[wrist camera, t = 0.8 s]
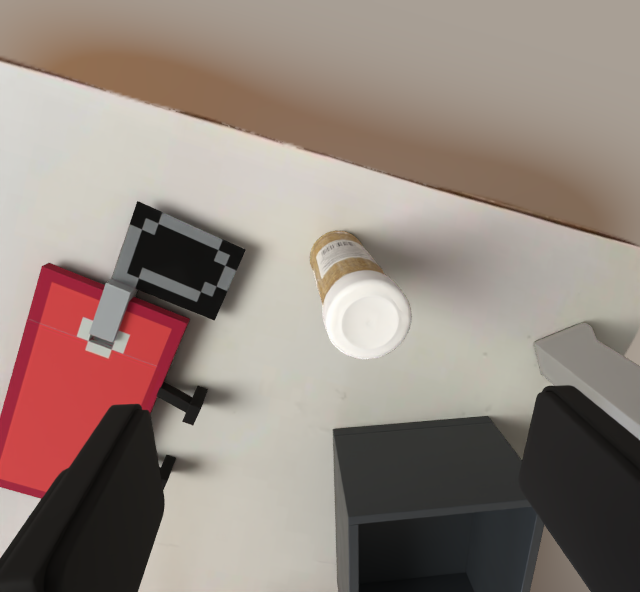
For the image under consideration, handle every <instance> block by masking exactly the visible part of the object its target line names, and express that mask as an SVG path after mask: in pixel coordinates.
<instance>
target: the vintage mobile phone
mask: <svg viewBox="0 0 640 592" xmlns="http://www.w3.org/2000/svg"><path fill="white" fill-rule="evenodd" d="M534 347H535V351H536V355H537V359H538V363H539V367H540V372H541V374H542V375H543V376H544V377H545V378H546V379H547V380H549V381H550V382H551V383H552V384H553V385H554V386H561V385H571V386H574V387H575V388H577V389H578V390H579V391H581V392H582V393H583V394H584V395H585V396H587V397H588V398H589V399H590V400H592V401H593V402H594V403H595V404H596V405H598V406H599V407H600V408H601V409H603V410H604V411H605V412H606V413H607V414H609V415H610V416H611V417H612V418H613V419H615V420H616V421H617V422H618V423H620V424H621V425H622V426H623V427H624V428H626V429H627V430H628V431H629V432H631V433H632V434H633V435H634V436H635V437H637V438H638V439H639V440H640V366H639V365H637V364H635V363H634V362H632V361H630V360H629V359H627V358H626V357H624V356H622V355H621V354H619V353H618V352H616V351H614V350H613V349H611V348H609V347H608V346H606V345H605V344H603V343H601V342H600V341H598V340H597V338H596V335H595V333H594V330H593V328H592V326H590V325H589V324H587V323H585V322H583V323H580V324H577V325H575V326H572V327H570V328H567V329H565V330H562V331H560V332H558V333H555V334H553V335H550V336H548V337H545V338H543V339H540V340H538V341H535V342H534Z"/></svg>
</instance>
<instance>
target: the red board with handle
mask: <svg viewBox="0 0 640 592" xmlns="http://www.w3.org/2000/svg"><path fill="white" fill-rule="evenodd" d="M244 252H245V249H243V248H241V247H239V246H236V245H234V244H232V243H230V242H228V241H225V240H223V239H221V238H219V237H216V236H214V235H212V234H210V233H207V232H205V231H203V230H201V229H199V228H196V227H194V226H192V225H190V224H187V223H185V222H183V221H181V220H178V219H176V218H174V217H172V216H170V215H167V214H165V213H163V212H161V211H158V210H156V209H154V208H152V207H150V206H147V205H145V204H143V203H141V202H138V201H137V204H136V207H135V210H134V213H133V216H132V219H131V222H130V225H129V228H128V231H127V234H126V237H125V240H124V243H123V245H122V248H121V251H120V254H119V257H118V260H117V263H116V266H115V269H114V272H113V275H112V278H111V279H110V280H109V281H108V282H106V284H105V285H104V284H101V283H99V282H96V281H94V280H91V279H89V278H86V277H83V276H81V275H78V274H76V273H73V272H71V271H68V270H66V269H63V268H61V267H58V266H56V265H53V264H51V263H48V264H46V265H44V266H42V268H41V272H40V275H39V279H38V283H37V286H36V290H35V293H34V297H33V301H32V304H31V308H30V311H29V315H28V319H27V322H26V326H25V330H24V333H23V337H22V340H21V344H20V348H19V351H18V355H17V358H16V362H15V366H14V369H13V373H12V377H11V380H10V384H9V387H8V391H7V395H6V398H5V402H4V405H3V409H2V413H1V416H0V487H2V488H6V489H9V490H13V491H16V492H20V493H24V494H27V495H31V496H34V497H38V498H41V499H42V498H43V496H44V495H45V493H46V492H47V490H48V489H49V487H50V486H51V485H52V483H53V482H54V480H55V479H56V477H57V476H58V475H59V474H60V473H61V472H62V471H63V470H65V469H67V468H69V467H70V465H71V464H72V462H73V461H74V459H75V458H76V456H77V455H78V453H79V452H80V450H81V449H82V448H83V446H84V445H85V443H86V442H87V440H88V439H89V437H90V436H91V434H92V433H93V431H94V430H95V428H96V427H97V425H98V424H99V422H100V421H101V419H102V418H103V416H104V415H105V413H106V412H107V410H108V409H109V408H110V407H111V406H112V405H118V404H140V405H141V407H142V410H149V412H150V414H151V411H152V409H153V406H154V404H155V402H156V399H157V397H159V398H161V399H163V400H164V401H166V402H168V403H170V404H172V405H173V406H175V407H177V408H179V409H181V410H182V411H184V412H186V414H185V417H184V419H183V422H185V423H188V424H191V425H194V422H195V420H196V418H197V416H198V414H199V412H200V409H201V407H202V404H203V401H204V398H205V396H206V393H207V390H208V389H206V388H203V387H200V386H197V388H196V391H195V393H194V395H193V397H191V396H189V395H187V394H186V393H184V392H182V391H180V390H178V389H177V388H175V387H173V386H171V385H169V384H168V383H166V382H164V380H165V378H166V375H167V373H168V370H169V368H170V366H171V363H172V361H173V358H174V356H175V354H176V351H177V349H178V346H179V344H180V342H181V339H182V337H183V334H184V332H185V330H186V327H187V325H188V322H189V320H190V319H189V318H186V317H184V316H181V315H179V314H176V313H174V312H171V311H169V310H166V309H164V308H161V307H159V306H156V305H154V304H151V303H149V302H146V301H144V300H141V299H139V298H136V297H135V296H136V293H137V290H140V291H143V292H145V293H148V294H150V295H153V296H155V297H158V298H160V299H163V300H165V301H167V302H170V303H172V304H175V305H177V306H180V307H182V308H185V309H187V310H190V311H192V312H195V313H197V314H200V315H202V316H205V317H207V318H210V319H212V320H215V318H216V316H217V314H218V312H219V309H220V307H221V305H222V303H223V300H224V298H225V296H226V293H227V291H228V289H229V287H230V284H231V282H232V280H233V277H234V275H235V273H236V271H237V268H238V266H239V264H240V262H241V259H242V257H243V255H244ZM114 341H115V342H114ZM113 342H114V343H113ZM175 460H176V458H175V457H172V456H169V455H166V457H165V460H164V462H163V464H162V466H161V468H160V467H159V469H160V475H161V481H162V487H163V489H164V487H165V485H166V483H167V481H168V478H169V475H170V473H171V470H172V468H173V465H174V462H175Z"/></svg>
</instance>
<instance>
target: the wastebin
mask: <svg viewBox="0 0 640 592" xmlns="http://www.w3.org/2000/svg"><path fill="white" fill-rule="evenodd" d="M333 451H334V486H335V521H336V555H337V584H338V592H530V588H531V583H532V579H533V574H534V569H535V565H536V560H537V555H538V551H539V546H540V542H541V537H542V532H543V527H544V523H543V522H542V520H541V519H540V517H539V516H538V515H537V513H536V512H535V510H534V509H533V507H532V506H531V504H530V503H529V502H528V500H527V499H526V497H525V496H524V494H523V493H522V491H521V488H520V485H519V473H520V469H521V464H522V460H521V459H520V457H519V456H518V455H517V453H516V452H515V451H514V449H513V448H512V447H511V446H510V444H509V443H508V442H507V440H506V439H505V438H504V436H503V435H502V434H501V432H500V431H499V430H498V428H497V427H496V426H495V424H494V423H493V422H492V421H491V419H490V418H489V417H488V416H484V417H472V418H460V419H449V420H437V421H425V422H413V423H401V424H389V425H377V426H365V427H353V428H341V429H333Z"/></svg>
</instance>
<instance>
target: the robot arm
mask: <svg viewBox="0 0 640 592" xmlns="http://www.w3.org/2000/svg"><path fill="white" fill-rule="evenodd" d="M519 485H520V488H521V491H522V493H523V494H524V496H525V497H526V499H527V500H528V502H529V503H530V504H531V506H532V507H533V509H534V510H535V512H536V513H537V515H538V516H539V517H540V519H541V520H542V522H543V523H544V525H545V526H546V528H547V529H548V531H549V532H550V533H551V535H552V536H553V538H554V539H555V541H556V542H557V544H558V545H559V546H560V548H561V549H562V551H563V552H564V554H565V555H566V557H567V558H568V559H569V561H570V562H571V564H572V565H573V567H574V568H575V569H576V571H577V572H578V574H579V575H580V577H581V578H582V580H583V581H584V582H585V584H586V585H587V587H588V588H589V590H590V591H591V592H640V440H639V439H638V438H637V437H635V436H634V435H633V434H632V433H631V432H629V431H628V430H627V429H626V428H624V427H623V426H622V425H621V424H620V423H618V422H617V421H616V420H615V419H613V418H612V417H611V416H610V415H609V414H607V413H606V412H605V411H604V410H603V409H601V408H600V407H599V406H598V405H596V404H595V403H594V402H593V401H592V400H590V399H589V398H588V397H587V396H585V395H584V394H583V393H582V392H581V391H579V390H578V389H577V388H575V387H574V386H571V385H561V386H547V387H545V388H544V389H543V391H542V392H541V393H539V394H538V395H537V398H536V402H535V407H534V411H533V415H532V420H531V424H530V429H529V433H528V438H527V442H526V446H525V451H524V455H523V460H522V464H521V469H520V473H519ZM163 512H164V493H163V487H162V481H161V475H160V469H159V463H158V457H157V451H156V445H155V439H154V433H153V427H152V421H151V415H150V412H149V410H142V407H141V405H140V404H118V405H112V406H111V407H110V408H109V409H108V410H107V412H106V413H105V415H104V416H103V418H102V419H101V421H100V422H99V424H98V425H97V427H96V428H95V430H94V431H93V433H92V434H91V436H90V437H89V439H88V440H87V442H86V443H85V445H84V446H83V448H82V449H81V450H80V452H79V453H78V455H77V456H76V458H75V459H74V461H73V462H72V464H71V465H70V467H69V468H67V469H65V470H63V471H62V472H61V473H60V474H59V475H58V476H57V477H56V479H55V480H54V482H53V483H52V485H51V486H50V487H49V489H48V490H47V492H46V493H45V495H44V496H43V498H42V499H41V500H40V502H39V503H38V505H37V506H36V508H35V509H34V511H33V512H32V513H31V515H30V516H29V518H28V519H27V521H26V522H25V524H24V525H23V526H22V528H21V529H20V531H19V532H18V534H17V535H16V537H15V538H14V539H13V541H12V542H11V544H10V545H9V547H8V548H7V550H6V551H5V552H4V554H3V555H2V557H1V558H0V592H138V590H139V586H140V583H141V580H142V577H143V574H144V571H145V568H146V565H147V562H148V559H149V556H150V553H151V550H152V547H153V544H154V541H155V538H156V535H157V532H158V529H159V526H160V523H161V520H162V517H163Z"/></svg>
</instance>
